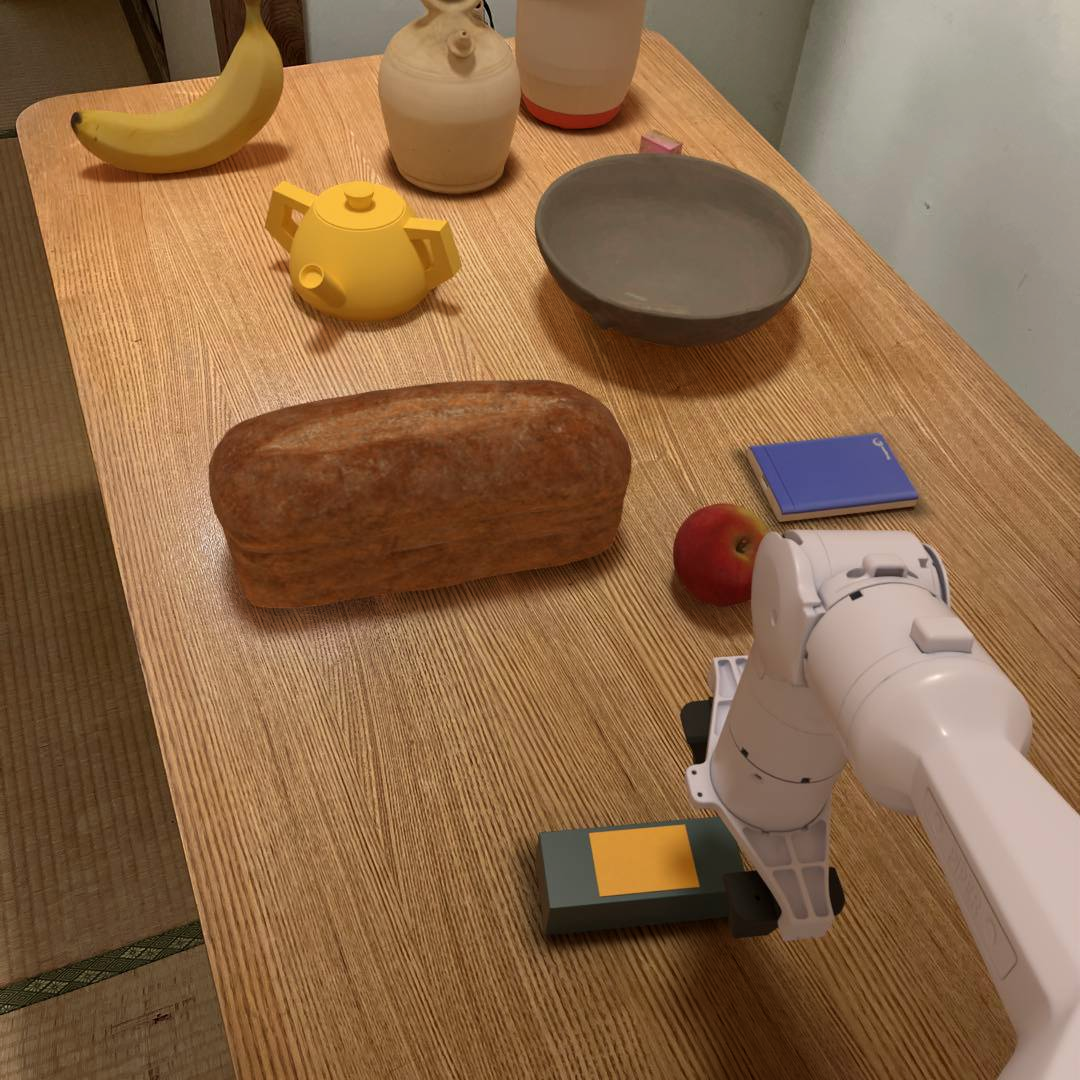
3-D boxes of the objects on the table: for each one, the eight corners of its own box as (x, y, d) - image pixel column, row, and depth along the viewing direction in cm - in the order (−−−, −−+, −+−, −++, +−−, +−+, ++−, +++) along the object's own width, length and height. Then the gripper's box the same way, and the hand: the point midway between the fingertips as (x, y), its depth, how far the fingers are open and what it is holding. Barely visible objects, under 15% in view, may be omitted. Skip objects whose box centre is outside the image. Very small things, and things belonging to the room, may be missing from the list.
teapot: (219, 327, 102) (199, 224, 94) (304, 229, 114) (293, 130, 105) (417, 378, 99) (415, 276, 91) (482, 272, 111) (486, 173, 103)
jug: (391, 129, 129) (382, -102, 110) (519, 140, 129) (533, -88, 111) (372, 197, 119) (360, -46, 100) (512, 208, 119) (525, -31, 101)
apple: (662, 621, 82) (680, 552, 76) (668, 543, 87) (685, 473, 81) (762, 636, 81) (787, 568, 76) (762, 557, 87) (785, 487, 81)
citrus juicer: (574, 65, 144) (590, -100, 129) (658, 121, 135) (684, -50, 120) (477, 91, 137) (481, -81, 122) (558, 151, 128) (574, -26, 113)
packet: (717, 844, 70) (730, 814, 67) (736, 916, 67) (750, 888, 64) (534, 861, 68) (539, 831, 65) (544, 936, 65) (549, 908, 62)
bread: (220, 515, 86) (192, 384, 76) (588, 462, 93) (606, 336, 83) (234, 634, 78) (204, 506, 68) (633, 567, 85) (659, 441, 75)
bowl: (817, 283, 114) (844, 197, 106) (743, 431, 97) (768, 342, 90) (590, 213, 120) (600, 127, 112) (483, 340, 103) (486, 250, 96)
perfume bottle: (603, 182, 124) (607, 145, 121) (666, 148, 131) (672, 112, 127) (685, 225, 119) (692, 188, 116) (747, 187, 126) (755, 151, 122)
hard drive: (879, 430, 96) (749, 443, 94) (920, 495, 91) (783, 511, 88) (874, 443, 97) (746, 456, 95) (914, 508, 92) (779, 524, 90)
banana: (86, 190, 116) (34, -4, 101) (82, 163, 119) (32, -28, 104) (296, 167, 122) (277, -18, 107) (287, 142, 125) (267, -41, 111)
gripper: (670, 608, 53) (633, 752, 63) (748, 889, 44) (690, 1006, 54) (806, 599, 54) (749, 742, 64) (911, 871, 45) (824, 989, 55)
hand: (730, 861), depth 59 cm, fingers open, 7 cm apart
